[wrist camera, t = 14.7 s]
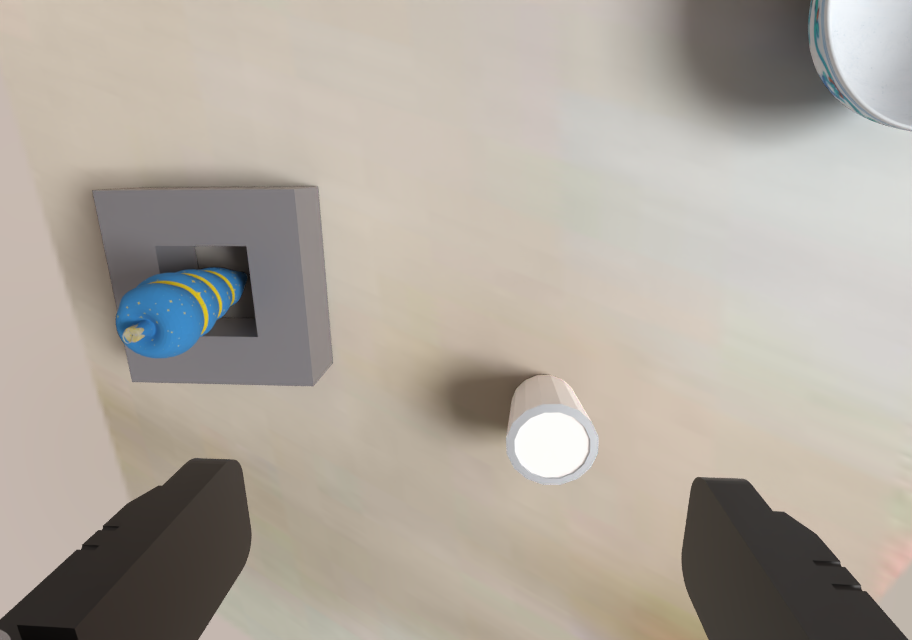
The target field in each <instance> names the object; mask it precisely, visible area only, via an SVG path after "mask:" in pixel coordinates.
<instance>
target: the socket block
mask: <svg viewBox="0 0 912 640" xmlns="http://www.w3.org/2000/svg"><path fill="white" fill-rule="evenodd" d="M92 192H93V197H94V201H95V206H96V211H97V216H98V221H99V225H100V230H101V235H102V240H103V245H104V249H105V254H106V259H107V264H108V269H109V273H110V278H111V283H112V288H113V293H114V297H115V302H116V307H117V311H118V308H119V305H120V301H121V299H122V297H123V296H124V295H125V294H126V293H127V292H128V291H130V290H132V289H134V288H136V287H137V286H138V285H139V284H140V283H141V282H143V281H144V280H146V279H147V278H149V277H151V276H153V275H157V274H161V273H175V272H178V271H182V270H188V269H196V270H198V263H197V257H196V251H195V246H246V247H247V255H248V263H249V271H250V279H251V287H252V294H253V302H254V310H255V318H219V319H218V320H216V322H215V325H214V326H213V327H212V329H211V330H210V331H209V332H208V333H206V334H205V335H203V336H202V337H199V339H198V340H197V342H196V343H195V344H194V345H193V346H192V347H191V348H190V349H189V350H188V351H186V352H184V353H182V354H180V355H177V356H174V357H169V358H149V357H145V356H141V355H139V354H137V353H135V352H134V351H132V350H131V349H129V348H128V347H127V346H126V345H125V344H124V345H125V350H126V355H127V360H128V364H129V369H130V374H131V379H132V382H155V383H197V384H240V385H282V386H314V385H315V384H316V383H317V381H318V380H319V379H320V378H321V377H322V375H323V374H324V373H325V372H326V371H327V369H328V368H329V367H330V366H331V365H332V363H333V357H332V345H331V334H330V322H329V310H328V298H327V286H326V274H325V262H324V251H323V239H322V227H321V215H320V203H319V191H318V187H176V188H126V189H109V190H92Z"/></svg>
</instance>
